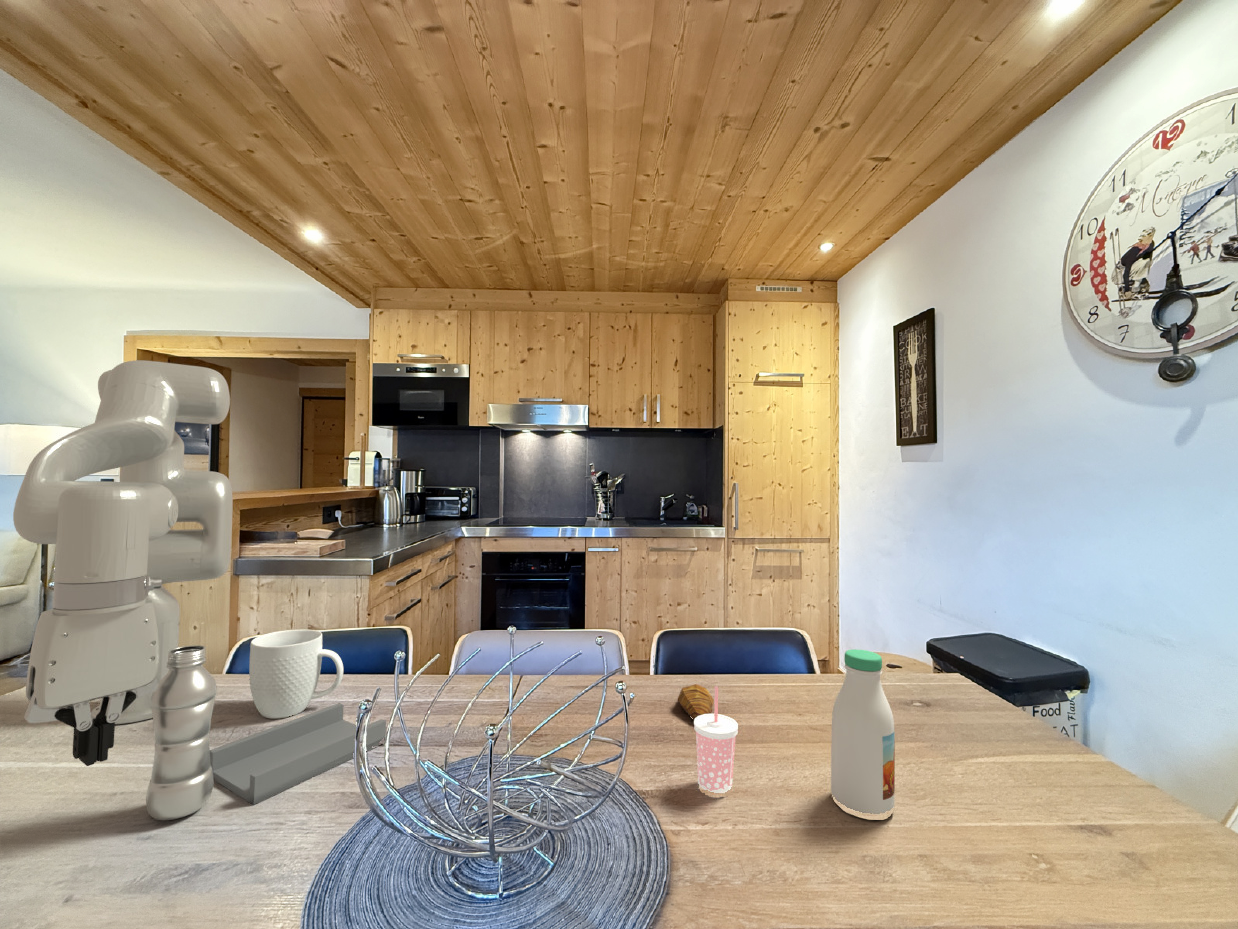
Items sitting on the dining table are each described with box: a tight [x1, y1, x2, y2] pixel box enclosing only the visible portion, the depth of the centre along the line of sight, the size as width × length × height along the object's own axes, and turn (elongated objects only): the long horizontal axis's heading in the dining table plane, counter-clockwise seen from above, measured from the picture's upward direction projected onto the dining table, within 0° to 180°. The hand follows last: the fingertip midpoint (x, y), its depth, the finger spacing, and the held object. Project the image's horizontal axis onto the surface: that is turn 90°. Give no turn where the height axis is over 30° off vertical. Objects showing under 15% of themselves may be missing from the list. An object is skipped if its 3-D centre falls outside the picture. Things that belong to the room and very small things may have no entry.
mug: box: [248, 628, 344, 720], centre depth 95 cm, size 15×11×13 cm
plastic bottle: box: [145, 644, 218, 821], centre depth 66 cm, size 6×7×20 cm
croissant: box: [677, 683, 715, 720], centre depth 99 cm, size 14×7×5 cm, turn 2°
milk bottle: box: [830, 649, 896, 814], centre depth 71 cm, size 8×8×20 cm
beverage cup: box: [693, 685, 739, 793], centre depth 74 cm, size 6×6×14 cm
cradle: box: [210, 702, 387, 806], centre depth 79 cm, size 12×19×4 cm, turn 150°
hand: (92, 759), depth 59 cm, fingers closed
